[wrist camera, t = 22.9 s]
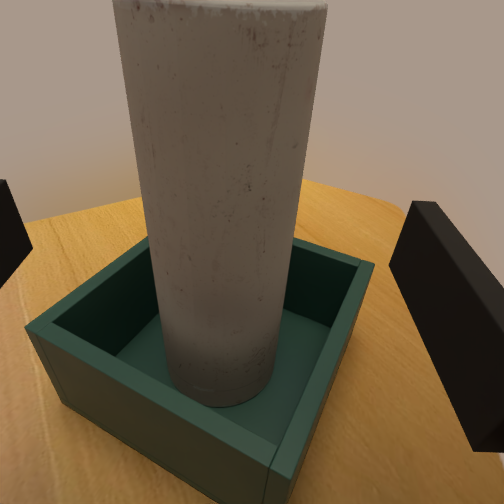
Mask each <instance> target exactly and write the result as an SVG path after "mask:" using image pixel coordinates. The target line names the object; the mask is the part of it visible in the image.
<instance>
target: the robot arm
mask: <svg viewBox="0 0 504 504" xmlns="http://www.w3.org/2000/svg"><path fill="white" fill-rule="evenodd" d="M32 249H33V247H32V244H31V242H30V239H29V237H28V234H27V232H26V229H25V227H24V224H23V222H22V219H21V217H20V214H19V212H18V209H17V207H16V204H15V202H14V199H13V197H12V194H11V192H10V189H9V187H8V184H7V182H6V180H3V179H0V289H1V287H2V286H3V285H4V284H5V282H6V281H7V280H8V279H9V278H10V276H11V275H12V274H13V273H14V271H15V270H16V269H17V268H18V267H19V265H20V264H21V263H22V262H23V260H24V259H25V258H26V257H27V256H28V254H29V253H30V252H31V251H32ZM389 267H390V270H391V272H392V274H393V276H394V278H395V281H396V283H397V285H398V287H399V289H400V292H401V294H402V296H403V298H404V300H405V303H406V305H407V307H408V309H409V311H410V314H411V316H412V318H413V320H414V322H415V325H416V327H417V329H418V331H419V333H420V336H421V338H422V340H423V342H424V344H425V347H426V349H427V351H428V353H429V355H430V358H431V360H432V362H433V364H434V366H435V369H436V371H437V373H438V375H439V377H440V380H441V382H442V384H443V386H444V388H445V391H446V393H447V395H448V397H449V399H450V402H451V404H452V406H453V408H454V410H455V413H456V415H457V417H458V419H459V421H460V424H461V426H462V428H463V430H464V432H465V435H466V437H467V439H468V441H469V443H470V446H471V448H472V450H473V452H497V453H504V288H503V287H502V285H501V284H500V283H499V282H498V280H497V279H496V278H495V276H494V275H493V274H492V273H491V271H490V270H489V269H488V268H487V266H486V265H485V264H484V263H483V261H482V260H481V259H480V257H479V256H478V255H477V254H476V253H475V251H474V250H473V249H472V247H471V246H470V245H469V244H468V242H467V241H466V240H465V239H464V237H463V236H462V235H461V234H460V232H459V231H458V230H457V228H456V227H455V226H454V225H453V223H452V222H451V221H450V219H449V218H448V217H447V216H446V214H445V213H444V212H443V211H442V209H441V208H440V207H439V206H438V204H437V203H436V202H429V201H412V203H411V206H410V209H409V212H408V214H407V217H406V219H405V222H404V225H403V228H402V230H401V233H400V236H399V238H398V241H397V244H396V247H395V249H394V252H393V255H392V257H391V260H390V263H389Z"/></svg>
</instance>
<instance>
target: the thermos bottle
mask: <svg viewBox="0 0 504 504" xmlns="http://www.w3.org/2000/svg"><path fill="white" fill-rule="evenodd" d="M112 2H113V8H114V15H115V22H116V28H117V35H118V42H119V48H120V55H121V61H122V68H123V74H124V80H125V88H126V94H127V101H128V107H129V114H130V121H131V127H132V134H133V141H134V147H135V154H136V160H137V167H138V173H139V181H140V187H141V194H142V201H143V207H144V214H145V220H146V227H147V234H148V240H149V247H150V254H151V260H152V267H153V273H154V280H155V287H156V293H157V300H158V307H159V313H160V320H161V326H162V333H163V340H164V346H165V353H166V360H167V366H168V371H169V374H170V378H171V380H172V382H173V383H174V385H175V387H176V388H177V389H178V390H179V391H180V392H181V393H182V394H184V395H186V396H187V397H189V398H191V399H193V400H195V401H197V402H198V403H200V404H202V405H205V406H210V407H228V406H235V405H238V404H240V403H243V402H246V401H248V400H249V399H251V398H253V397H254V396H256V395H257V394H258V393H259V392H260V391H261V390H262V389H263V388H264V387H265V386H266V384H267V383H268V381H269V380H270V377H271V375H272V373H273V368H274V363H275V356H276V350H277V344H278V337H279V329H280V322H281V316H282V310H283V303H284V296H285V290H286V283H287V276H288V270H289V263H290V256H291V250H292V243H293V236H294V230H295V223H296V216H297V210H298V203H299V196H300V190H301V183H302V176H303V170H304V169H303V168H304V162H305V156H306V150H307V143H308V136H309V129H310V122H311V116H312V110H313V103H314V96H315V90H316V83H317V76H318V70H319V63H320V56H321V48H322V43H323V36H324V29H325V22H326V15H327V7H328V5H327V3H326V2H325V1H324V0H112Z"/></svg>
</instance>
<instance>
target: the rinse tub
mask: <svg viewBox="0 0 504 504" xmlns="http://www.w3.org/2000/svg"><path fill="white" fill-rule="evenodd" d="M374 266H375V264H374V263H371V262H368V261H365V260H361V259H359V258H356V257H352V256H349V255H346V254H343V253H340V252H337V251H334V250H331V249H328V248H325V247H322V246H319V245H316V244H313V243H310V242H307V241H304V240H301V239H297V238H294V237H293V243H292V250H291V256H290V263H289V270H288V276H287V283H286V290H285V296H284V303H283V310H282V316H281V322H280V329H279V337H278V344H277V350H276V356H275V363H274V368H273V373H272V375H271V377H270V380H269V381H268V383H267V384H266V386H265V387H264V388H263V389H262V390H261V391H260V392H259V393H258V394H257V395H256V396H254V397H253V398H251V399H249V400H248V401H246V402H243V403H240V404H238V405H235V406H228V407H210V406H205V405H202V404H200V403H198V402H197V401H195V400H193V399H191V398H189V397H187V396H186V395H184V394H182V393H181V392H180V391H179V390H178V389H177V388H176V387H175V385H174V383H173V382H172V380H171V378H170V374H169V371H168V366H167V360H166V353H165V346H164V340H163V333H162V326H161V320H160V313H159V307H158V300H157V293H156V287H155V280H154V273H153V267H152V260H151V254H150V247H149V240H148V236H147V237H146V238H144V239H143V240H142V241H140V242H139V243H137V244H136V245H135V246H133V247H132V248H131V249H129V250H128V251H127V252H125V253H124V254H123V255H121V256H120V257H118V258H117V259H116V260H114V261H113V262H112V263H110V264H109V265H108V266H106V267H105V268H104V269H102V270H101V271H99V272H98V273H97V274H95V275H94V276H93V277H91V278H90V279H89V280H87V281H86V282H85V283H83V284H82V285H80V286H79V287H78V288H76V289H75V290H74V291H72V292H71V293H70V294H68V295H67V296H66V297H64V298H63V299H61V300H60V301H59V302H57V303H56V304H55V305H53V306H52V307H51V308H49V309H48V310H46V311H45V312H44V313H42V314H41V315H40V316H38V317H37V318H36V319H34V320H33V321H32V322H30V323H29V324H27V325H26V326H25V327H24V328H25V330H26V332H27V334H28V336H29V338H30V340H31V342H32V344H33V346H34V348H35V350H36V352H37V354H38V356H39V358H40V360H41V362H42V364H43V366H44V368H45V370H46V372H47V374H48V376H49V378H50V380H51V382H52V384H53V386H54V388H55V390H56V392H57V394H58V396H59V398H60V400H61V402H62V403H63V404H65V405H67V406H68V407H70V408H71V409H73V410H74V411H76V412H77V413H79V414H81V415H82V416H84V417H85V418H87V419H88V420H90V421H91V422H93V423H94V424H96V425H98V426H99V427H101V428H102V429H104V430H105V431H107V432H108V433H110V434H112V435H113V436H115V437H116V438H118V439H119V440H121V441H122V442H124V443H126V444H127V445H129V446H130V447H132V448H133V449H135V450H136V451H138V452H140V453H141V454H143V455H144V456H146V457H147V458H149V459H150V460H152V461H153V462H155V463H157V464H158V465H160V466H161V467H163V468H164V469H166V470H167V471H169V472H171V473H172V474H174V475H175V476H177V477H178V478H180V479H181V480H183V481H185V482H186V483H188V484H189V485H191V486H192V487H194V488H195V489H197V490H198V491H200V492H202V493H203V494H205V495H206V496H208V497H209V498H211V499H212V500H214V501H216V502H217V503H219V504H288V501H289V498H290V496H291V493H292V490H293V488H294V485H295V482H296V480H297V477H298V474H299V472H300V469H301V467H302V464H303V461H304V459H305V456H306V453H307V451H308V448H309V445H310V443H311V440H312V437H313V435H314V432H315V429H316V427H317V424H318V422H319V419H320V416H321V414H322V411H323V408H324V406H325V403H326V400H327V398H328V395H329V392H330V390H331V387H332V384H333V382H334V379H335V376H336V374H337V371H338V369H339V366H340V363H341V361H342V358H343V355H344V353H345V350H346V347H347V345H348V342H349V339H350V337H351V334H352V331H353V328H354V325H355V322H356V319H357V316H358V313H359V311H360V308H361V305H362V302H363V299H364V296H365V293H366V290H367V287H368V284H369V281H370V278H371V275H372V272H373V269H374Z"/></svg>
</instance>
